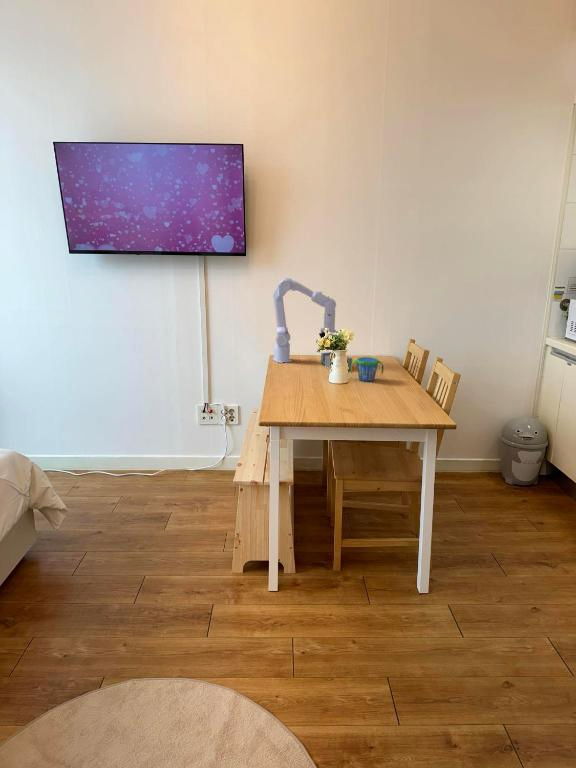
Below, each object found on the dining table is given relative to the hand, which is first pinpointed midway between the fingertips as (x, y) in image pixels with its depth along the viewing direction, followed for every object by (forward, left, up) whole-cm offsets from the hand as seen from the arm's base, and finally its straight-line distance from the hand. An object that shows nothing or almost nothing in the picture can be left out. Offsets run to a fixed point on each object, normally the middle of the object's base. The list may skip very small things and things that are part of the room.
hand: (328, 347), depth 299 cm
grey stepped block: (+7, 0, -9) cm, 11 cm away
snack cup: (+36, 0, -9) cm, 37 cm away
